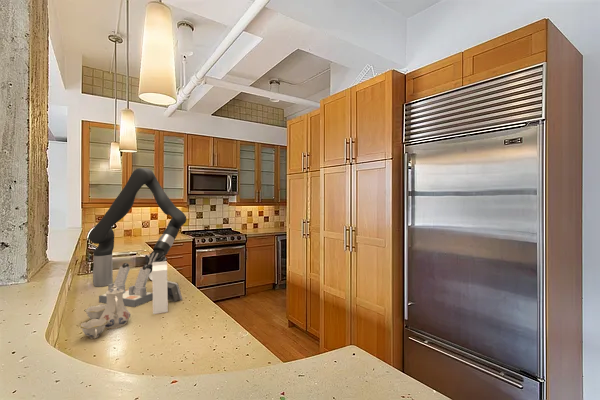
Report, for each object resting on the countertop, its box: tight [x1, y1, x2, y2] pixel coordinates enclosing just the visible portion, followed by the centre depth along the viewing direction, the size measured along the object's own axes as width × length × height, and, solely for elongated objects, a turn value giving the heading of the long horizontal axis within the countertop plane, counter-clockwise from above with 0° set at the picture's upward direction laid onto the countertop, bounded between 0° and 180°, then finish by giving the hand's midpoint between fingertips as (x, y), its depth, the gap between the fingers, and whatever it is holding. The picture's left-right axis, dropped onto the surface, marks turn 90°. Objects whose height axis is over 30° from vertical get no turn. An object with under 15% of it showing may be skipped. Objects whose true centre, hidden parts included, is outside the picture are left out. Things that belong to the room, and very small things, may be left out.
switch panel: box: [98, 282, 153, 308], centre depth 155 cm, size 22×12×7 cm, turn 72°
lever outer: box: [133, 264, 151, 294], centre depth 156 cm, size 5×3×14 cm, turn 72°
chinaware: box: [80, 284, 131, 340], centre depth 125 cm, size 28×17×17 cm, turn 35°
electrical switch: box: [167, 280, 183, 303], centre depth 156 cm, size 9×5×9 cm, turn 57°
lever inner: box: [113, 262, 131, 288], centre depth 160 cm, size 5×3×14 cm, turn 72°
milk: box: [151, 261, 169, 315], centre depth 141 cm, size 6×6×22 cm
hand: (147, 272), depth 159 cm, fingers closed
